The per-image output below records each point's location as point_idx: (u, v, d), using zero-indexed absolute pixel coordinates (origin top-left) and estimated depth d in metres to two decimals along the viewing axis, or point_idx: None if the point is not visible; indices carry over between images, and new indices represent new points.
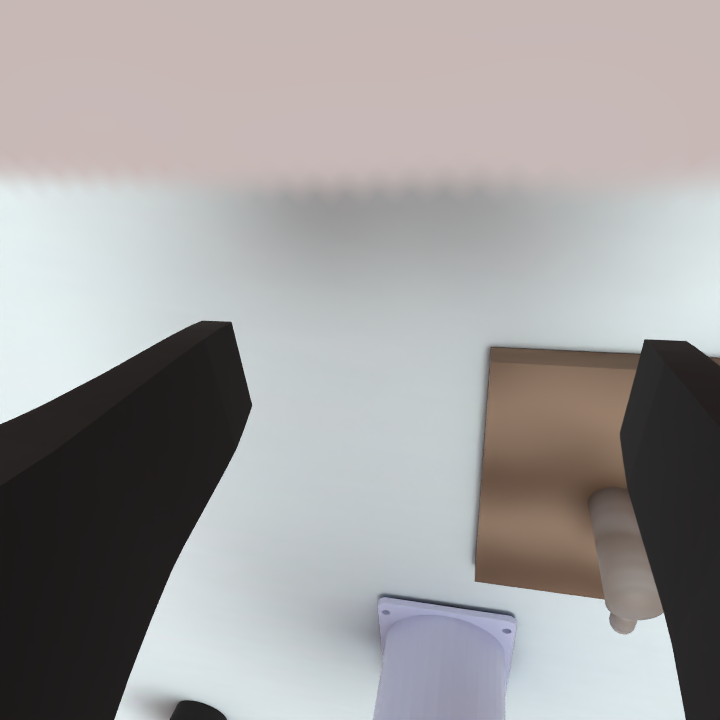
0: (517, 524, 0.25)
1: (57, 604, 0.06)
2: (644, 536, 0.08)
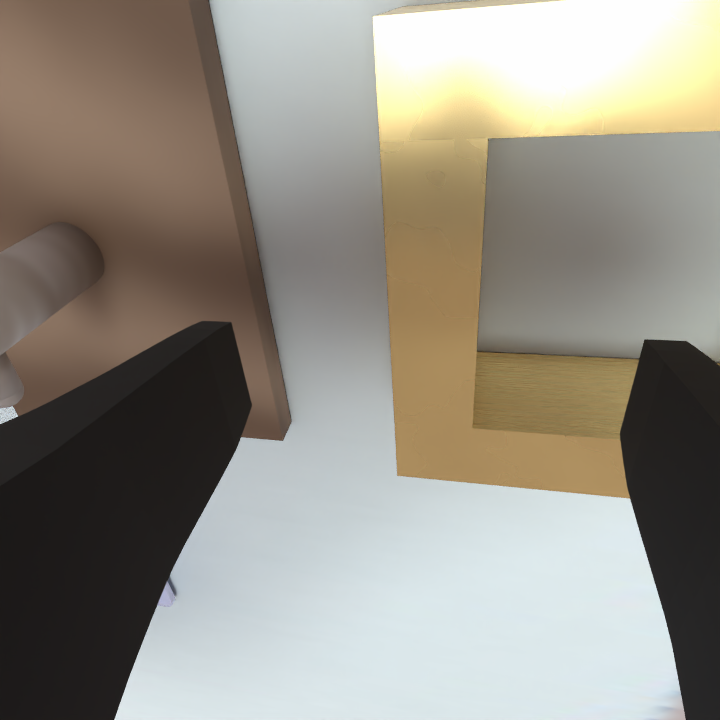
0: None
1: (57, 604, 0.06)
2: (644, 536, 0.08)
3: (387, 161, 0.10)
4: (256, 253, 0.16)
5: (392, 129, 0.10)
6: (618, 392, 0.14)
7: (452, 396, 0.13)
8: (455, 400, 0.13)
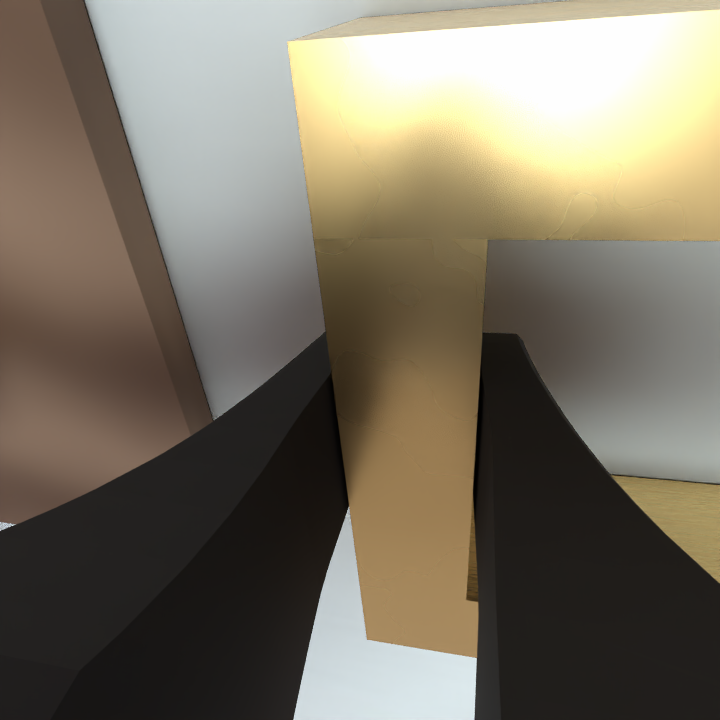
0: None
1: (258, 639, 0.06)
2: (474, 516, 0.09)
3: (327, 267, 0.06)
4: (184, 338, 0.12)
5: (332, 220, 0.06)
6: None
7: (437, 563, 0.09)
8: (442, 568, 0.09)
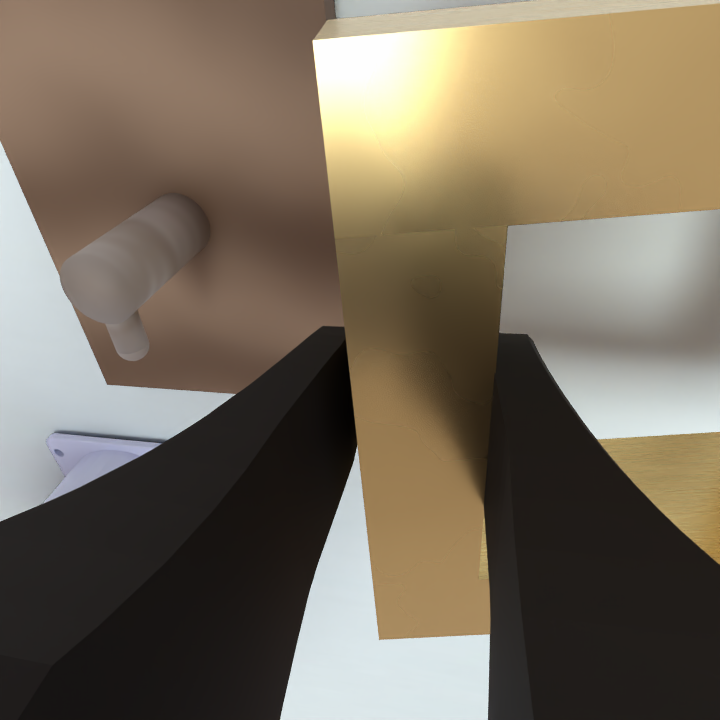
0: None
1: (242, 636, 0.06)
2: (485, 518, 0.09)
3: (349, 267, 0.06)
4: None
5: (355, 219, 0.06)
6: None
7: (451, 548, 0.10)
8: (456, 552, 0.10)
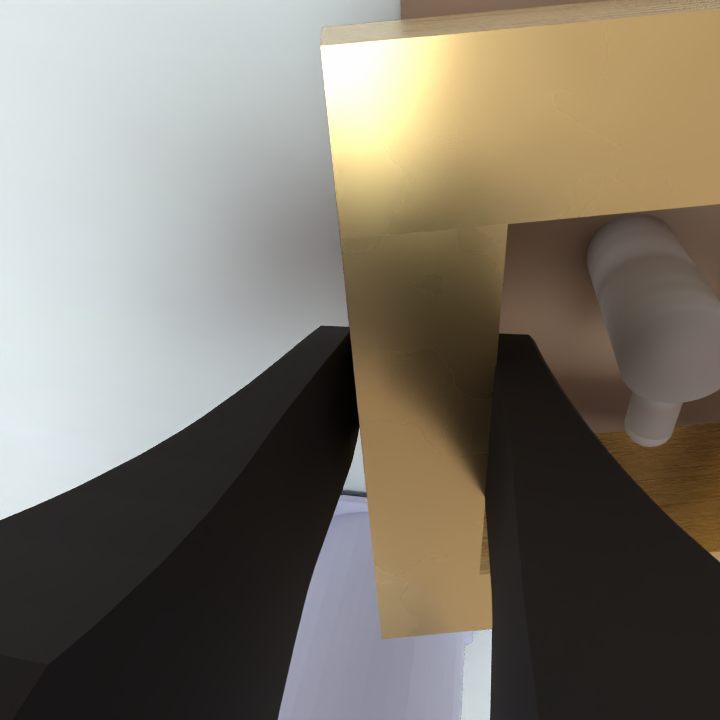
0: None
1: (240, 635, 0.06)
2: (487, 518, 0.09)
3: (354, 266, 0.07)
4: None
5: (360, 220, 0.06)
6: None
7: (453, 544, 0.10)
8: (457, 548, 0.10)
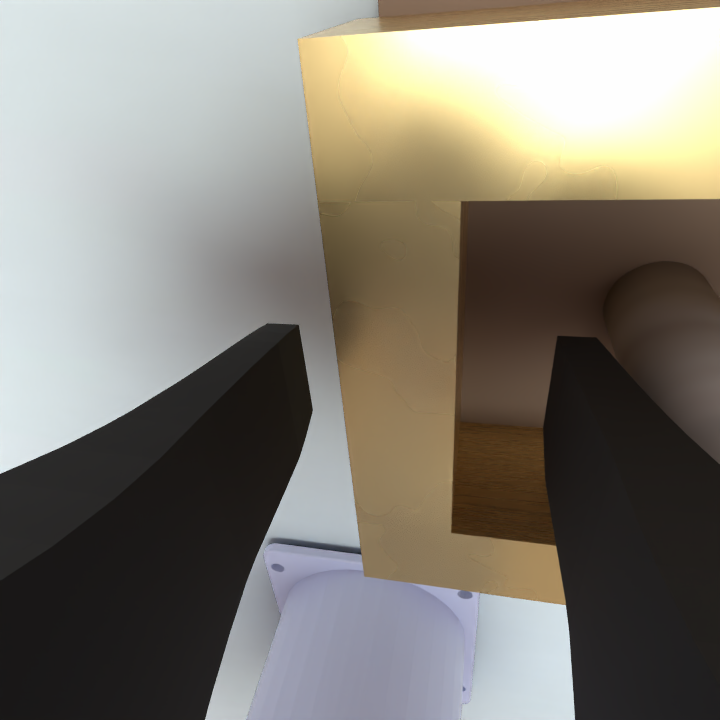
0: (466, 375, 0.13)
1: (157, 621, 0.06)
2: (554, 526, 0.08)
3: (329, 226, 0.08)
4: None
5: (333, 186, 0.07)
6: None
7: (425, 498, 0.11)
8: (429, 502, 0.11)
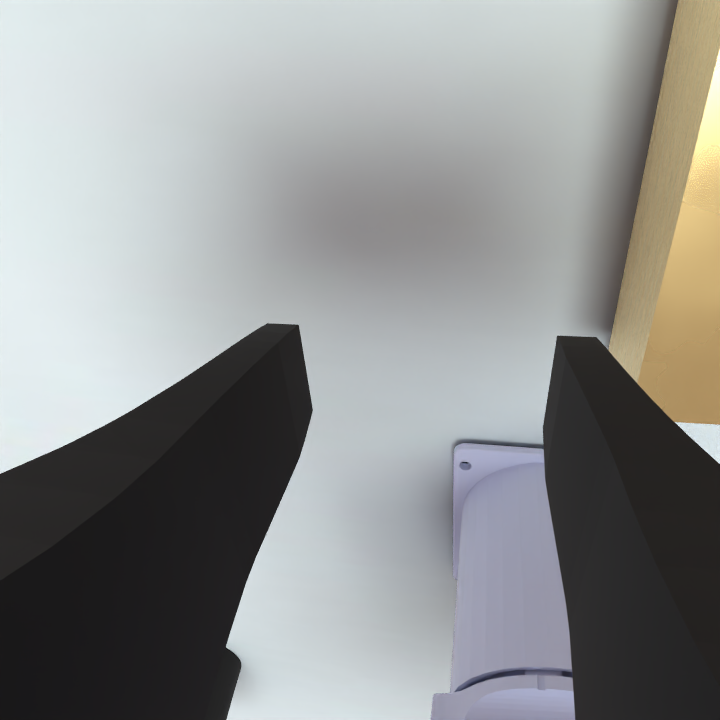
0: None
1: (156, 621, 0.06)
2: (554, 526, 0.08)
3: None
4: None
5: None
6: None
7: (716, 330, 0.13)
8: (718, 335, 0.13)
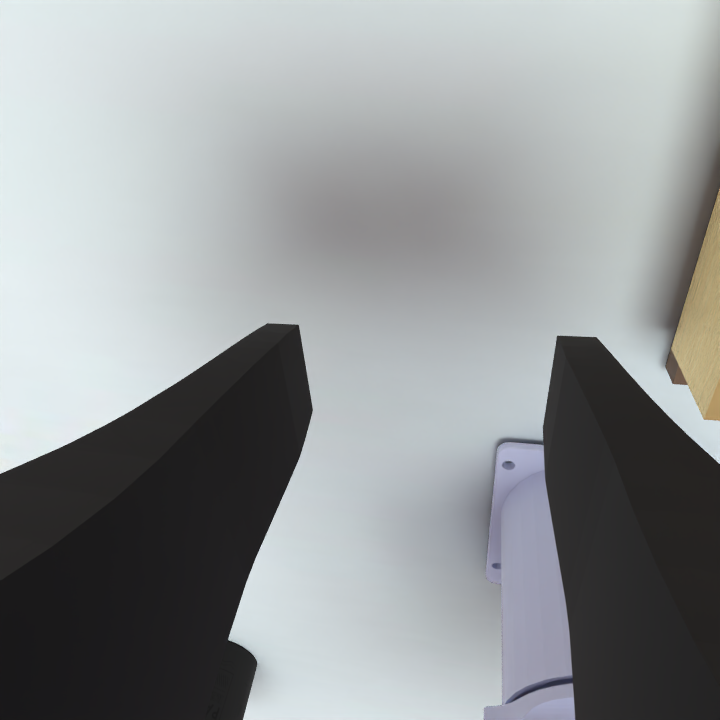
0: None
1: (156, 621, 0.06)
2: (554, 525, 0.08)
3: None
4: None
5: None
6: None
7: None
8: None
